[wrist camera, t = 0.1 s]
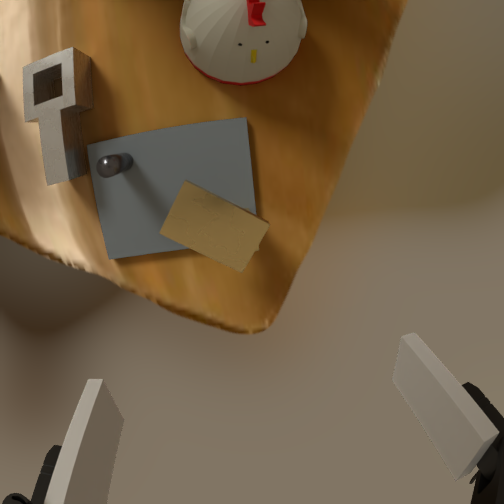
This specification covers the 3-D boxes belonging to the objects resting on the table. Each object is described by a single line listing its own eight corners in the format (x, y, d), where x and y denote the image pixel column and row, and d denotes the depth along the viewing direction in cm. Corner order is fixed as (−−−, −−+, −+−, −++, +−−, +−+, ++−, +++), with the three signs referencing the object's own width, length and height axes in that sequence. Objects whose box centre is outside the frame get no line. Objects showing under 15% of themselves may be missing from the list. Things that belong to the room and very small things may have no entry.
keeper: (192, 170, 35) (184, 180, 26) (262, 206, 37) (276, 228, 28) (172, 210, 36) (159, 233, 27) (240, 244, 38) (248, 276, 30)
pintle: (114, 154, 33) (94, 158, 27) (131, 150, 33) (115, 153, 27) (117, 172, 34) (98, 180, 28) (134, 169, 34) (118, 175, 28)
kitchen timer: (189, 93, 33) (171, 64, 19) (176, -3, 28) (158, -67, 14) (305, 79, 34) (356, 48, 20) (287, -14, 29) (322, -76, 15)
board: (90, 144, 33) (86, 145, 32) (245, 118, 34) (246, 117, 33) (111, 256, 38) (109, 259, 37) (257, 236, 40) (258, 239, 38)
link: (44, 73, 29) (22, 67, 24) (90, 57, 29) (73, 46, 24) (55, 182, 34) (34, 189, 29) (101, 170, 35) (84, 176, 29)
